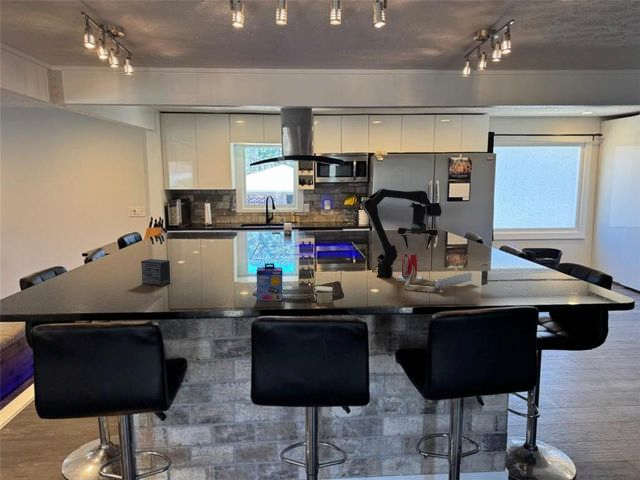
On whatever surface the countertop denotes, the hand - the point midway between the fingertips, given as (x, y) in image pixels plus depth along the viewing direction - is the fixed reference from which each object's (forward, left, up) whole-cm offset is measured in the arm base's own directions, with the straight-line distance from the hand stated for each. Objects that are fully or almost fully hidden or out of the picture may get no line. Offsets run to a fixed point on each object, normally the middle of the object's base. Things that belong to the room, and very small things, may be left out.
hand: (417, 249), depth 206 cm
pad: (-2, -9, -13) cm, 16 cm away
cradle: (+5, -22, -13) cm, 26 cm away
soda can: (-2, -9, -13) cm, 16 cm away
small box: (-105, -59, -13) cm, 121 cm away
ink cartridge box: (-49, -62, -13) cm, 80 cm away
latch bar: (+18, -18, -11) cm, 28 cm away
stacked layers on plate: (-29, -57, -14) cm, 65 cm away
